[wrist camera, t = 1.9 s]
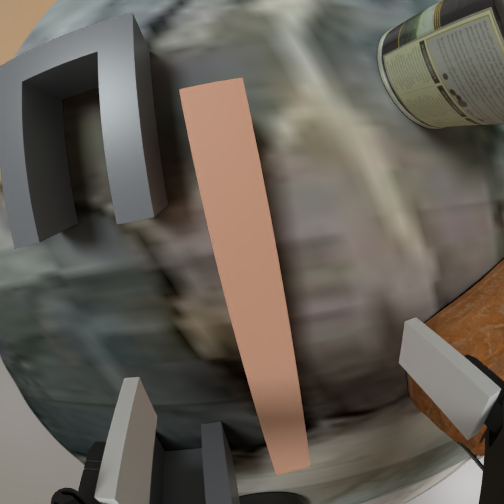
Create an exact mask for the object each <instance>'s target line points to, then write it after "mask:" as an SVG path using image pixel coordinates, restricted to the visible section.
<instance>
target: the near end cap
mask: <svg viewBox="0 0 504 504" xmlns="http://www.w3.org/2000/svg"><path fill="white" fill-rule="evenodd" d="M96 88H99V99H100V112H101V123H102V133H103V142H104V150H105V157H106V165H107V171H108V178H109V184H110V190H111V196H112V201H113V207H114V212H115V217H116V222H117V224H122V223H127V222H132V221H137V220H142V219H147V218H152V217H155V216H156V215H157V214H158V213H159V212H160V211H161V210H162V209H164V208H165V207H166V206H167V205H168V200H167V194H166V188H165V182H164V175H163V169H162V162H161V155H160V148H159V141H158V133H157V125H156V117H155V108H154V98H153V89H152V78H151V66H150V52H149V49H148V46H147V44H146V42H145V40H144V37H143V35H142V33H141V31H140V28H139V26H138V24H137V22H136V19H135V17H134V15H133V13H131V14H127V15H123V16H119V17H116V18H112V19H109V20H106V21H102V22H99V23H96V24H93V25H90V26H87V27H84V28H81V29H79V30H76V31H73V32H71V33H68V34H66V35H63V36H61V37H58V38H56V39H53V40H51V41H49V42H46V43H44V44H42V45H40V46H38V47H36V48H33V49H31V50H29V51H27V52H25V53H23V54H21V55H19V56H18V57H16V58H14V59H12V60H10V61H8V62H7V63H5V64H3V65H1V66H0V168H1V177H2V185H3V192H4V198H5V204H6V210H7V215H8V220H9V225H10V230H11V234H12V238H13V243H14V247H15V249H16V248H20V247H24V246H28V245H31V244H35V243H39V242H41V241H43V240H45V239H47V238H49V237H51V236H53V235H55V234H57V233H59V232H61V231H64V230H66V229H68V228H70V227H72V226H74V225H76V224H78V219H77V214H76V209H75V204H74V199H73V193H72V187H71V181H70V174H69V167H68V159H67V151H66V141H65V130H64V117H63V100H64V99H66V98H69V97H72V96H75V95H78V94H81V93H84V92H87V91H90V90H93V89H96Z"/></svg>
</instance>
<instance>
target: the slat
mask: <svg viewBox="0 0 504 504" xmlns="http://www.w3.org/2000/svg"><path fill="white" fill-rule="evenodd" d="M179 92H180V97H181V102H182V108H183V113H184V118H185V123H186V128H187V133H188V138H189V143H190V148H191V152H192V157H193V162H194V167H195V171H196V176H197V181H198V185H199V190H200V194H201V199H202V203H203V208H204V212H205V216H206V221H207V225H208V229H209V234H210V238H211V242H212V246H213V250H214V255H215V259H216V263H217V267H218V271H219V275H220V279H221V283H222V287H223V291H224V295H225V299H226V303H227V307H228V310H229V314H230V318H231V322H232V326H233V329H234V333H235V337H236V341H237V344H238V348H239V352H240V355H241V359H242V362H243V366H244V370H245V373H246V377H247V380H248V384H249V387H250V391H251V394H252V398H253V401H254V404H255V408H256V411H257V415H258V418H259V421H260V425H261V428H262V431H263V434H264V438H265V441H266V444H267V447H268V451H269V454H270V457H271V460H272V463H273V466H274V469H275V473H276V475H280V474H284V473H288V472H292V471H295V470H299V469H302V468H306V467H309V466H311V465H310V458H309V450H308V443H307V436H306V428H305V421H304V414H303V407H302V401H301V394H300V387H299V381H298V374H297V368H296V361H295V355H294V348H293V342H292V336H291V330H290V324H289V318H288V312H287V306H286V300H285V294H284V288H283V282H282V277H281V271H280V265H279V260H278V254H277V249H276V243H275V238H274V232H273V227H272V221H271V216H270V211H269V205H268V200H267V195H266V190H265V185H264V179H263V174H262V169H261V164H260V159H259V154H258V149H257V144H256V139H255V135H254V130H253V125H252V120H251V115H250V111H249V106H248V101H247V96H246V92H245V87H244V83H243V78H236V79H230V80H224V81H218V82H212V83H207V84H202V85H197V86H192V87H188V88H183V89H179Z"/></svg>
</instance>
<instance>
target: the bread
mask: <svg viewBox="0 0 504 504" xmlns="http://www.w3.org/2000/svg"><path fill="white" fill-rule="evenodd" d="M424 324H425V325H426V326H428V327H429V328H430V329H431V330H433V331H434V332H435V333H436V334H437V335H439V336H440V337H441V338H442V339H444V340H445V341H446V342H447V343H448V344H450V345H451V346H452V347H453V348H455V349H456V350H457V351H458V352H459V353H460V354H462V355H463V356H465V355H467V354H468V355H470V356H473V357H475V358H477V359H478V360H479V361H481V362H482V363H483V365H485V366H487V367H488V368H489V370H491V371H493V372H494V373H495V374H496V375H497V376H499V377H500V378H501V379H502V380H503V381H504V259H503V260H502V261H501V262H500V263H499V264H498V265H497V266H496V267H495V268H494V269H492V270H491V271H490V272H489V273H488V274H487V275H486V276H485V277H484V278H483V279H482V280H481V281H480V282H478V283H477V284H476V285H475V286H473V287H472V288H471V289H470V290H468V291H467V292H466V293H464V294H463V295H462V296H461V297H459V298H458V299H457V300H455V301H454V302H453V303H451V304H450V305H448V306H447V307H446V308H444V309H443V310H442V311H440V312H439V313H438V314H436V315H435V316H434V317H432V318H431V319H429V320H428V321H427V322H425V323H424ZM407 379H408V390H409V396H410V397H411V399H412V401H413V402H414V404H415V405H416V407H417V408H418V409H419V410H420V411H422V412H423V413H424V414H425V415H426V416H427V417H428V418H429V419H430V420H431V421H432V422H433V423H434V424H435V425H436V426H437V427H438V428H440V429H441V430H442V431H443V432H445V433H446V434H447V435H448V436H450V437H451V438H452V439H453V440H454V441H457V442H460V443H463V444H464V445H465V446H466V447H467V448H468V449H469V450H470V451H472V452H473V453H474V454H476V455H484V454H485V443H484V442H485V438H484V440H483V441H482V443H479V442H480V439H481V437H482V436H483V434H484V432H485V430H486V429H487V426H486V425H485V424H484V425H483V427H482V428H481V430H480V432H479V433H478V434H476V435H475V436H473V437H472V438H471V439H469V440H467V439H466V438H465V437H464V436H463V435H462V433H461V432H460V431H459V430H458V429H457V428H456V426H455V425H454V424H453V423H452V422H451V421H450V420H449V418H448V417H447V416H446V415H445V414H444V413H443V412H442V410H441V409H440V408H439V407H438V406H437V405H436V404H435V403H434V401H433V400H432V399H431V398H430V397H429V396H428V395H427V394H426V392H425V391H424V390H423V389H422V388H421V387H420V386H419V385H418V384H417V382H416V381H415V380H414V379H413V378H412V377H411V376H410V375H409V374H408V373H407Z"/></svg>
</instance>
